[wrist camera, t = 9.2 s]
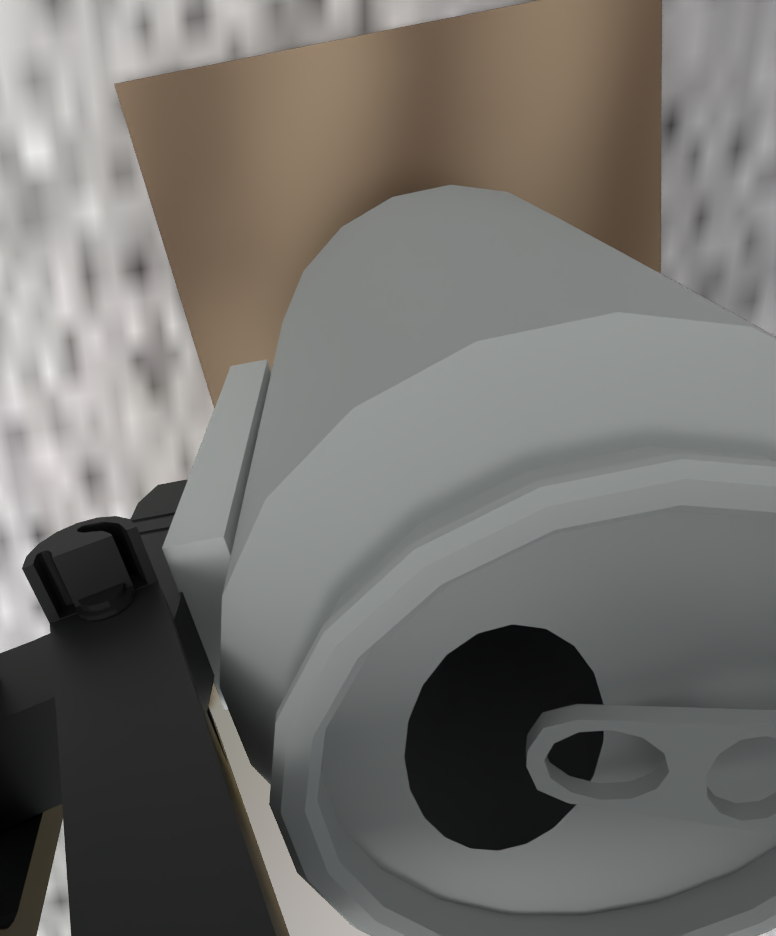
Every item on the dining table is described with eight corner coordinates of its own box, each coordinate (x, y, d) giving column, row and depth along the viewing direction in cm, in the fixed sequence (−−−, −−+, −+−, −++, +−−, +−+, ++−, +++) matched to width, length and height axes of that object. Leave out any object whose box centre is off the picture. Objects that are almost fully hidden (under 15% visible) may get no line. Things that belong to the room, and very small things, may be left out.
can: (263, 187, 15) (88, 423, 4) (621, 172, 15) (1300, 354, 5) (296, 501, 18) (246, 1067, 8) (586, 483, 19) (925, 1001, 8)
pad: (643, -18, 19) (661, -25, 18) (645, 451, 25) (659, 466, 24) (126, 84, 19) (114, 84, 18) (258, 521, 26) (254, 539, 25)
